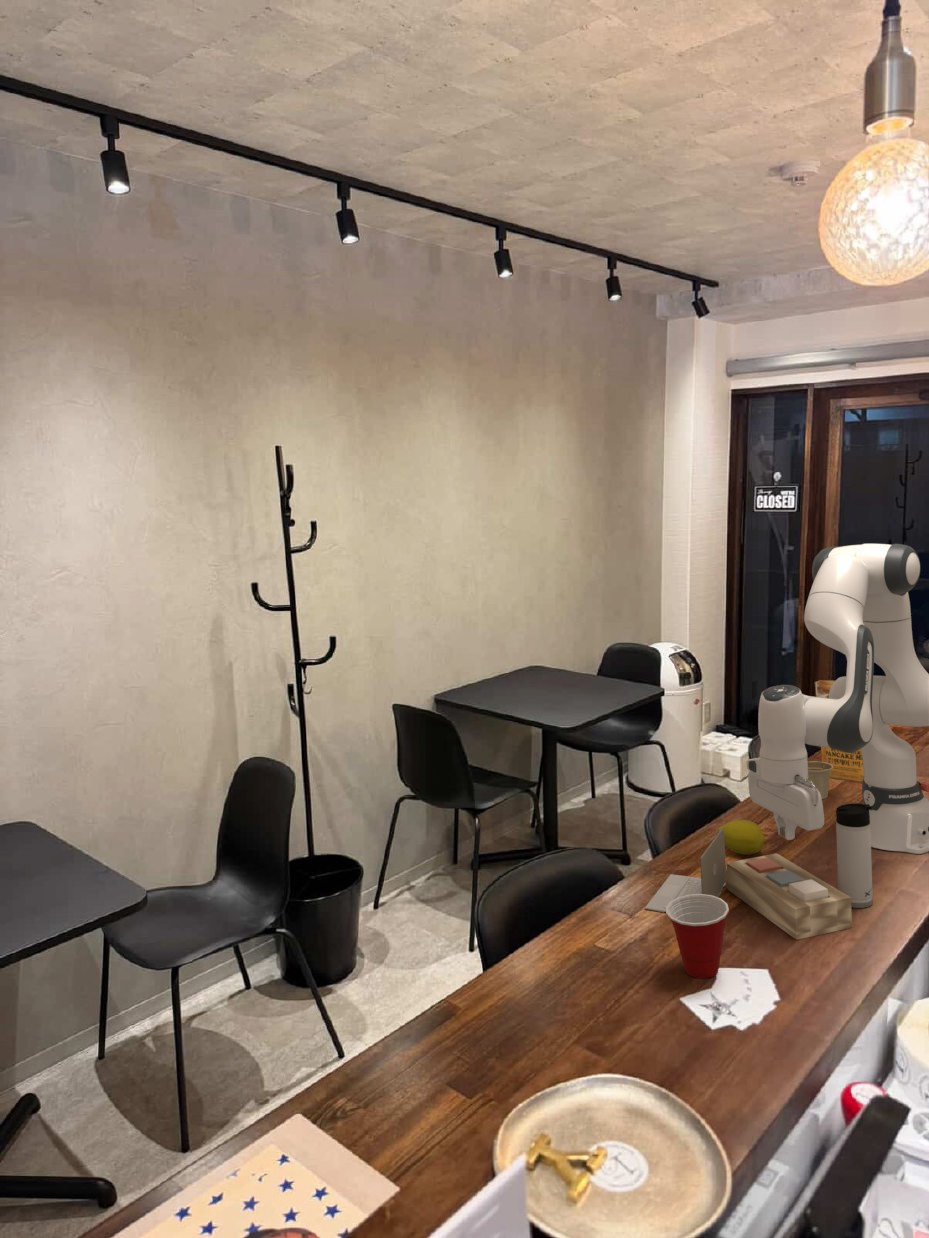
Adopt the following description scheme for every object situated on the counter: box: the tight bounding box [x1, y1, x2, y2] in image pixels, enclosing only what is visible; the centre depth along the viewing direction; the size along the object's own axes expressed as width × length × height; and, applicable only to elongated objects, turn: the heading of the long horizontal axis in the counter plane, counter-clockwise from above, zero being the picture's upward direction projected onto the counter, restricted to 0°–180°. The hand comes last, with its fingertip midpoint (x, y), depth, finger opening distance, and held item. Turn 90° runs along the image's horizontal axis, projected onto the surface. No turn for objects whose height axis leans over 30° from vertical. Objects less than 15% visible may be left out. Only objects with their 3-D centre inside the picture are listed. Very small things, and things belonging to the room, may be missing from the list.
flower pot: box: [807, 760, 833, 800], centre depth 240 cm, size 9×9×9 cm
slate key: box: [767, 870, 804, 887], centre depth 177 cm, size 5×5×3 cm
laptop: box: [644, 828, 728, 913], centre depth 185 cm, size 18×12×13 cm
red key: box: [746, 858, 782, 873], centre depth 184 cm, size 5×5×3 cm
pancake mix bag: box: [814, 679, 864, 784], centre depth 251 cm, size 7×19×28 cm, turn 44°
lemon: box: [717, 819, 767, 856], centre depth 206 cm, size 11×8×8 cm
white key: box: [789, 879, 828, 903], centre depth 169 cm, size 5×5×3 cm
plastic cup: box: [666, 894, 730, 979], centre depth 156 cm, size 11×11×12 cm
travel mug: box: [835, 802, 874, 909], centre depth 176 cm, size 6×7×20 cm
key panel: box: [726, 852, 853, 941], centre depth 177 cm, size 12×24×6 cm, turn 14°
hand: (786, 837), depth 174 cm, fingers closed
